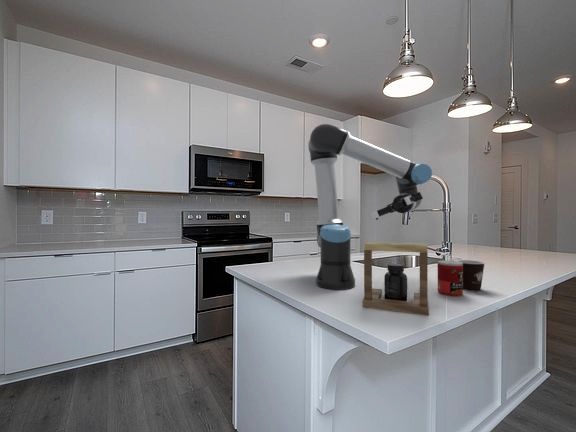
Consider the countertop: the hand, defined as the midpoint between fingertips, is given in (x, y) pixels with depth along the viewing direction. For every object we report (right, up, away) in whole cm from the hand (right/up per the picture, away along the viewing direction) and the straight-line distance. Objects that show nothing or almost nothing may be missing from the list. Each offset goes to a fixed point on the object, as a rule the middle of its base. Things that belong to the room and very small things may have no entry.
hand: (388, 209), depth 102 cm
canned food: (+22, -30, 0) cm, 37 cm away
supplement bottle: (-1, -30, -10) cm, 32 cm away
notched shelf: (-1, -30, -11) cm, 32 cm away
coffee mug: (+31, -30, +6) cm, 43 cm away
